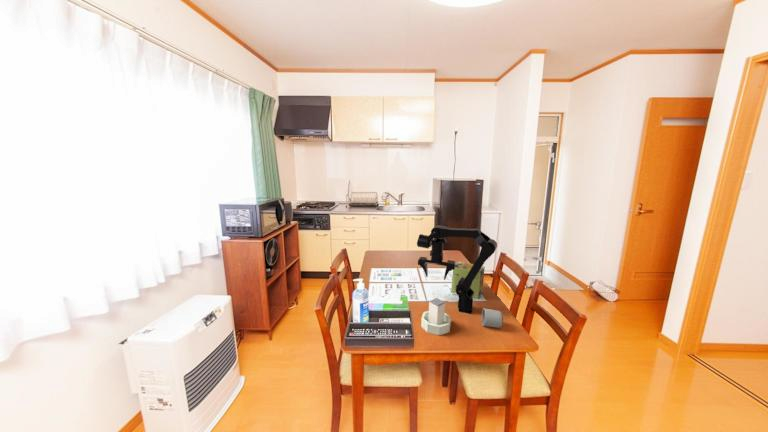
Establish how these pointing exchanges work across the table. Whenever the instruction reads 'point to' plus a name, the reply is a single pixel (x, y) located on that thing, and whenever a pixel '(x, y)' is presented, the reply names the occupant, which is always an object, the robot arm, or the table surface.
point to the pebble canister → (436, 312)
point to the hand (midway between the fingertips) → (435, 278)
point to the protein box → (462, 271)
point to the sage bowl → (435, 328)
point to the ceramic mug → (492, 318)
